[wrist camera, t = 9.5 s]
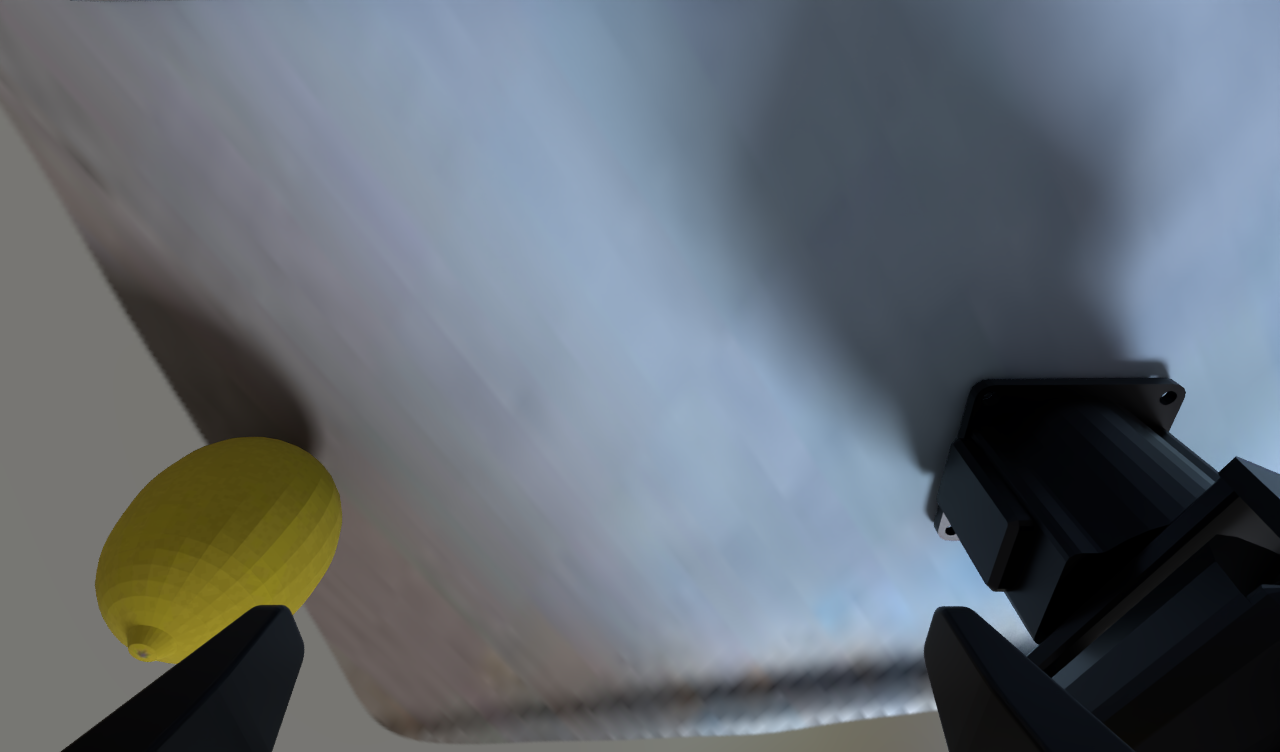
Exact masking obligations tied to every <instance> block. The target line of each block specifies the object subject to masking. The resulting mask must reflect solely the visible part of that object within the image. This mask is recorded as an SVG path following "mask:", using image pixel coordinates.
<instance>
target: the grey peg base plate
mask: <svg viewBox="0 0 1280 752" xmlns="http://www.w3.org/2000/svg"><path fill="white" fill-rule="evenodd" d="M70 1H97V2H111V1H163V0H70Z"/></svg>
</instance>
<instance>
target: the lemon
mask: <svg viewBox="0 0 1280 752" xmlns="http://www.w3.org/2000/svg"><path fill="white" fill-rule="evenodd" d="M341 525H342V510H341V501H340V495H339V492H338V490H337V488H336V486H335V483H334V481H333V479H332V476H331V475H330V474H329V472H328V471H327V470H326V469H325V467H324V466H323V465H322V464H321V463H320V462H319V461H318V460H317V459H316V458H314V457H313V456H312V455H311V454H310V453H308V452H306V451H305V450H303V449H301V448H299V447H298V446H295V445H293V444H290V443H287V442H284V441H281V440H278V439H272V438H266V437H238V438H232V439H227V440H224V441H220V442H217V443H213V444H210V445H207V446H204V447H202V448H200V449H197V450H195V451H193V452H192V453H190V454H188V455H187V456H185V457H183V458H182V459H180V460H179V461H177V462H176V463H174V464H172V465H171V466H169V467H168V468H167V469H165V470H164V471H162V472H161V473H160V474H158V475H157V476H156V477H155V478H154V479H153V480H151V481H150V482H149V483H148V484H147V485H146V486H145V487H144V489H142V490H141V491H140V493H139V494H138V495H137V496H136V498H135V499H134V500H133V501H132V503H131V504H130V506H129V507H128V508H127V509H126V511H125V512H124V513H123V515H122V516H121V518H120V519H119V521H118V522H117V523H116V525H115V527H114V528H113V530H112V531H111V533H110V535H109V537H108V539H107V541H106V543H105V545H104V547H103V550H102V552H101V555H100V558H99V562H98V568H97V573H96V580H95V589H96V596H97V600H98V605H99V609H100V611H101V614H102V617H103V619H104V620H105V622H106V624H107V626H108V627H109V629H110V630H111V632H112V633H113V634H114V635H115V636H116V638H118V640H119V641H120V642H121V643H123V644H124V645H125V646H127V647H128V650H129V653H130V654H131V655H132V656H133V657H134V658H136V659H138V660H140V661H144V662H152V661H155V660H156V661H161V662H166V663H174V664H178V663H179V662H180V661H182V660H183V659H184V658H186V657H187V656H188V655H190V654H191V653H192V652H194V651H195V650H196V649H198V648H199V647H200V646H202V645H203V644H204V643H206V642H207V641H208V640H210V639H211V638H212V637H214V636H215V635H216V634H218V633H219V632H220V631H222V630H223V629H224V628H225V627H227V626H228V625H229V624H231V623H232V622H233V621H235V620H236V619H237V618H239V617H240V616H241V615H243V614H244V613H245V612H247V611H248V610H250V609H251V608H253V607H255V606H258V605H285V606H286V607H288V608H289V609H290V611H291V613H292V615H293V614H294V613H295V612H296V611H297V610H298V609H299V608H300V607H301V606H302V605H303V603H304V602H305V601H306V600H307V598H308V597H309V596H310V595H311V593H312V592H313V590H314V589H315V587H316V586H317V585H318V583H319V582H320V580H321V579H322V577H323V576H324V574H325V573H326V571H327V569H328V567H329V565H330V563H331V561H332V559H333V556H334V554H335V551H336V547H337V544H338V539H339V535H340V530H341Z"/></svg>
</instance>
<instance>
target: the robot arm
mask: <svg viewBox="0 0 1280 752" xmlns="http://www.w3.org/2000/svg"><path fill="white" fill-rule="evenodd" d="M990 392H993V394H992V396H990V397H989V398H987V399H983V398H984V396H985V395H986V394H988V393H990ZM1166 392H1167V393H1166ZM1164 393H1166V394H1165V395H1164V396H1163V397H1161V396H1162V395H1163V394H1164ZM1185 394H1186V392H1185V389H1184V388H1183V387H1182V386H1181V385H1179V384H1178V383H1176V382H1175V381H1173V380H1172V379H1169V378H1057V379H985V380H982V381H980V382H978V383H976V384H975V385H974V386H973V387H972V389H971V391H970V393H969V396H968V400H967V404H966V407H965V411H964V415H963V418H962V422H961V426H960V429H959V433H958V437H957V439H956V440H955V441H954V442H953V443H952V444H951V447H950V451H949V455H948V458H947V462H946V466H945V469H944V473H943V477H942V481H941V484H940V488H939V492H938V495H937V502H938V504H939V506H938V510H937V513H936V517H935V521H934V527H935V529H936V531H937V533H938V535H939V536H940V538H942V539H944V540H949V541H960V542H961V543H962V545H963V547H964V548H965V550H966V552H967V553H968V555H969V557H970V559H971V560H972V562H973V564H974V565H975V567H976V569H977V570H978V572H979V574H980V576H981V577H982V579H983V581H984V582H985V584H986V585H987V586H988V587H989V588H990V589H991V590H992V591H995V592H1004V593H1005V594H1006V596H1007V598H1008V599H1009V601H1010V602H1011V604H1012V606H1013V607H1014V609H1015V611H1016V612H1017V614H1018V615H1019V617H1020V619H1021V620H1022V622H1023V624H1024V625H1025V627H1026V629H1027V630H1028V632H1029V633H1030V635H1031V637H1032V638H1033V640H1034V641H1035V642H1036V643H1037V644H1039V645H1038V646H1037V647H1035V648H1034V649H1033V650H1032V651H1031V652H1030V653H1029V654H1028V655H1027V656H1025V655H1024V654H1023V653H1022V652H1021V651H1019V650H1018V649H1017V648H1016V647H1015V646H1014V645H1013V644H1011V643H1010V642H1009V641H1008V640H1007V639H1006V638H1005V637H1003V636H1002V635H1001V634H1000V633H999V632H998V631H996V630H995V629H994V628H993V627H992V626H991V625H990V624H988V623H987V622H986V621H985V620H984V619H983V618H982V617H980V616H979V615H978V614H977V613H976V612H975V611H973V610H972V609H970V608H968V607H962V606H942V607H939V608H937V609H936V610H935V612H934V615H933V618H932V621H931V625H930V628H929V631H928V635H927V638H926V641H925V645H924V659H925V664H926V668H927V672H928V676H929V679H930V683H931V687H932V691H933V694H934V698H935V702H936V705H937V709H938V713H939V717H940V720H941V724H942V728H943V732H944V735H945V739H946V743H947V746H948V750H949V752H1280V474H1278V473H1276V472H1273V471H1271V470H1268V469H1266V468H1264V467H1261V466H1259V465H1256V464H1254V463H1252V462H1249V461H1247V460H1244V459H1242V458H1240V457H1237V456H1236V457H1235V458H1234V459H1233V460H1232V461H1230V462H1229V463H1228V464H1227V465H1226V466H1225V467H1224V468H1223V469H1222V470H1221V471H1220V472H1218V471H1216V470H1215V469H1214V468H1213V467H1211V466H1210V465H1209V464H1208V463H1206V462H1205V461H1204V460H1203V459H1201V458H1200V457H1199V456H1198V455H1196V454H1195V453H1194V452H1193V451H1191V450H1190V449H1189V448H1188V447H1187V446H1185V445H1184V444H1183V443H1182V442H1180V441H1179V440H1178V439H1177V438H1175V437H1174V436H1173V435H1172V434H1170V433H1169V430H1170V428H1171V426H1172V424H1173V422H1174V419H1175V417H1176V415H1177V413H1178V411H1179V409H1180V407H1181V404H1182V402H1183V400H1184V398H1185ZM1160 397H1161V398H1160ZM950 525H951V527H948V526H950ZM947 527H948V528H947ZM303 657H304V643H303V640H302V637H301V635H300V632H299V630H298V627H297V625H296V622H295V620H294V618H293V615H292V613H291V611H290V609H289V608H288V607H286V606H285V605H258V606H255V607H253V608H251V609H250V610H248V611H247V612H245V613H244V614H243V615H241V616H240V617H239V618H237V619H236V620H235V621H233V622H232V623H231V624H229V625H228V626H227V627H225V628H224V629H223V630H222V631H220V632H219V633H218V634H216V635H215V636H214V637H212V638H211V639H210V640H208V641H207V642H206V643H204V644H203V645H202V646H200V647H199V648H198V649H196V650H195V651H194V652H192V653H191V654H190V655H188V656H187V657H186V658H184V659H183V660H182V661H180V662H179V663H178V664H176V665H175V666H174V667H172V668H171V669H170V670H168V671H167V672H166V673H164V674H163V675H162V676H160V677H159V678H158V679H156V680H155V681H154V682H152V683H151V684H150V685H148V686H147V687H146V688H144V689H143V690H142V691H141V692H139V693H138V694H136V695H135V696H134V697H132V698H131V699H130V700H129V701H127V702H126V703H125V704H123V705H122V706H120V707H119V708H118V709H116V710H115V711H114V712H113V713H111V714H110V715H109V716H107V717H106V718H105V719H103V720H102V721H101V722H99V723H98V724H97V725H95V726H94V727H93V728H91V729H90V730H89V731H87V732H86V733H85V734H83V735H82V736H81V737H79V738H78V739H77V740H75V741H74V742H73V743H71V744H70V745H69V746H67V747H66V748H65V749H63V750H62V751H61V752H272V750H273V747H274V744H275V741H276V738H277V735H278V732H279V729H280V726H281V724H282V721H283V718H284V715H285V712H286V709H287V706H288V703H289V700H290V697H291V694H292V691H293V688H294V685H295V682H296V679H297V676H298V673H299V670H300V667H301V664H302V661H303Z"/></svg>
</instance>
